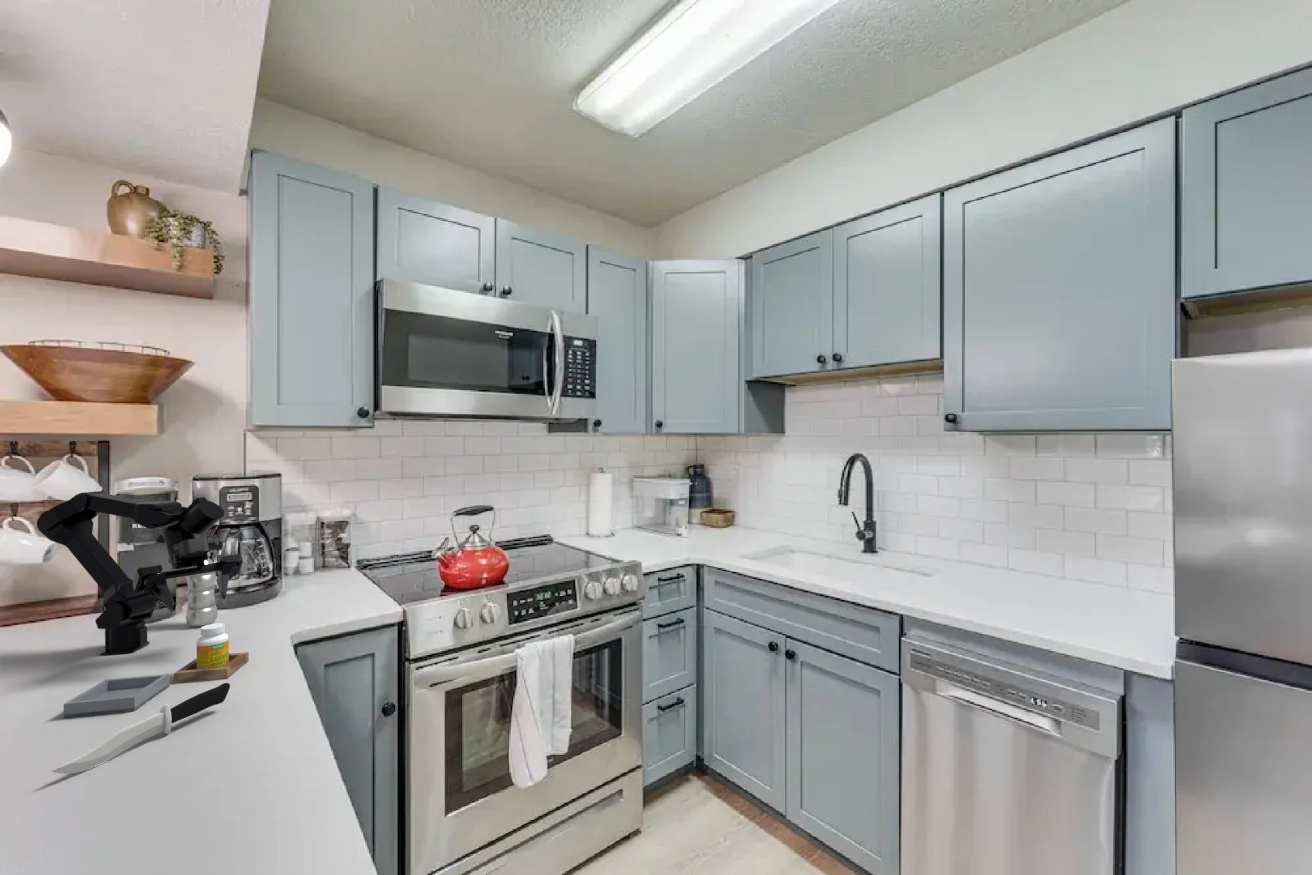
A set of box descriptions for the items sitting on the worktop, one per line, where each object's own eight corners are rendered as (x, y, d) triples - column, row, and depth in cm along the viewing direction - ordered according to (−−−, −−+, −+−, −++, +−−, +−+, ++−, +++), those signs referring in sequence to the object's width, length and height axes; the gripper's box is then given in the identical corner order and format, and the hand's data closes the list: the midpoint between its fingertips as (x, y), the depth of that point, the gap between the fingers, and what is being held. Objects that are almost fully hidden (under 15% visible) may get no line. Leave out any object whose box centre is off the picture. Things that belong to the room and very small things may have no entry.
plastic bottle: (223, 622, 154) (223, 548, 154) (196, 630, 147) (195, 553, 147) (207, 620, 156) (206, 546, 156) (179, 627, 149) (178, 551, 149)
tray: (63, 718, 101) (63, 703, 101) (106, 692, 111) (105, 679, 111) (134, 711, 103) (134, 697, 103) (169, 686, 114) (169, 673, 114)
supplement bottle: (211, 678, 118) (210, 630, 118) (190, 676, 119) (189, 629, 119) (235, 667, 123) (235, 622, 123) (214, 665, 124) (214, 621, 124)
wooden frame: (174, 683, 115) (174, 673, 115) (199, 665, 124) (199, 656, 124) (227, 678, 117) (227, 668, 117) (248, 661, 127) (248, 652, 127)
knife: (55, 788, 81) (55, 752, 81) (47, 785, 81) (47, 750, 81) (232, 707, 105) (232, 680, 105) (225, 706, 105) (225, 679, 105)
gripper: (136, 529, 121) (151, 590, 115) (240, 519, 136) (258, 572, 130) (126, 562, 126) (140, 621, 119) (227, 548, 141) (245, 601, 134)
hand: (199, 602), depth 126 cm, fingers open, 9 cm apart
